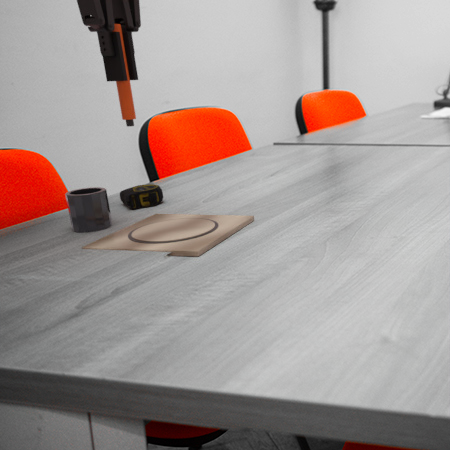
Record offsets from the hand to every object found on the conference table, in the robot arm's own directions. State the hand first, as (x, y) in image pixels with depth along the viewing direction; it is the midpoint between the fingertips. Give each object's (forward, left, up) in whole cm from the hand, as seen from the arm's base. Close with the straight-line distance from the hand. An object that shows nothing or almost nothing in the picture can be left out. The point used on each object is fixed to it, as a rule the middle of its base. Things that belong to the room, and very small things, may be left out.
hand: (122, 80), depth 81 cm
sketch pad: (+4, +1, -23) cm, 24 cm away
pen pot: (-11, +2, -23) cm, 26 cm away
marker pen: (0, 0, -6) cm, 6 cm away
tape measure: (-12, +16, -23) cm, 31 cm away
